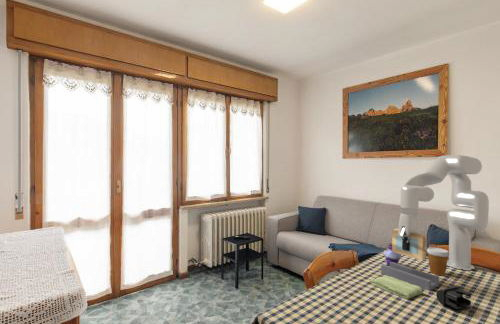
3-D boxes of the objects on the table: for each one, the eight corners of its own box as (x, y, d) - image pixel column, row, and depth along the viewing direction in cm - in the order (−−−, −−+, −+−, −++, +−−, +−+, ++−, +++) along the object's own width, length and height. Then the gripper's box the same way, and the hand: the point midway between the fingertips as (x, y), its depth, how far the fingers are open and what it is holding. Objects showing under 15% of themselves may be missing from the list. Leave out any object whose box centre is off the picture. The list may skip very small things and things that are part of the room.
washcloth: (386, 279, 128) (386, 272, 129) (424, 295, 113) (424, 287, 113) (368, 284, 122) (368, 277, 122) (406, 302, 107) (406, 294, 107)
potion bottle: (401, 264, 147) (401, 243, 147) (400, 269, 140) (401, 246, 140) (384, 261, 152) (384, 240, 152) (382, 266, 144) (383, 244, 145)
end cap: (451, 299, 109) (452, 283, 109) (471, 308, 102) (471, 290, 102) (435, 303, 105) (435, 286, 105) (455, 313, 99) (455, 295, 99)
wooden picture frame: (396, 250, 135) (396, 228, 135) (426, 258, 123) (426, 235, 123) (391, 251, 133) (392, 229, 133) (422, 260, 121) (422, 236, 121)
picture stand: (391, 269, 140) (391, 261, 140) (439, 285, 121) (439, 276, 122) (381, 273, 135) (381, 265, 135) (428, 290, 116) (429, 281, 116)
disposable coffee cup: (441, 270, 140) (441, 247, 140) (453, 277, 131) (453, 253, 131) (422, 269, 141) (422, 246, 141) (433, 276, 132) (433, 252, 132)
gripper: (409, 209, 136) (409, 245, 136) (392, 211, 127) (391, 249, 127) (425, 211, 130) (425, 249, 129) (408, 214, 121) (407, 254, 120)
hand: (408, 249), depth 128 cm, fingers closed on wooden picture frame, 4 cm apart
